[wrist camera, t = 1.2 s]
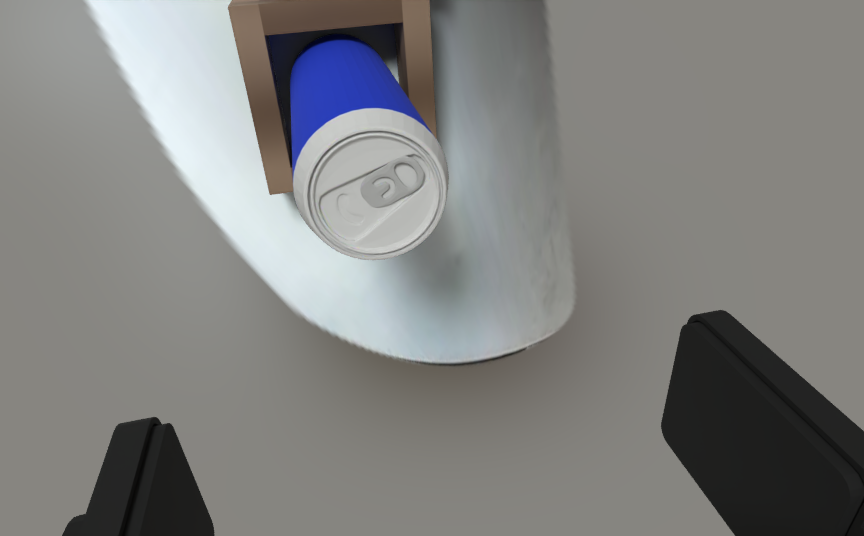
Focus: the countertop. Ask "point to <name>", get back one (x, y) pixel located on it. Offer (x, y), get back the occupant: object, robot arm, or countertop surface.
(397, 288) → the countertop surface
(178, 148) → the countertop surface
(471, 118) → the countertop surface
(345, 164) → the beverage can
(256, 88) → the block
